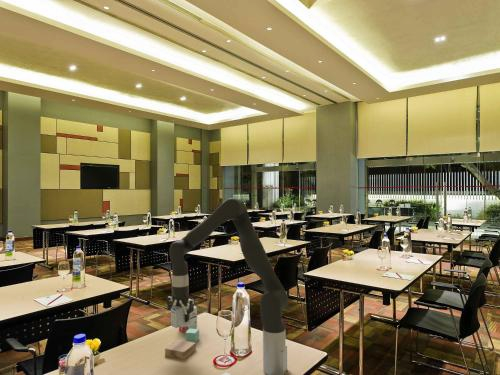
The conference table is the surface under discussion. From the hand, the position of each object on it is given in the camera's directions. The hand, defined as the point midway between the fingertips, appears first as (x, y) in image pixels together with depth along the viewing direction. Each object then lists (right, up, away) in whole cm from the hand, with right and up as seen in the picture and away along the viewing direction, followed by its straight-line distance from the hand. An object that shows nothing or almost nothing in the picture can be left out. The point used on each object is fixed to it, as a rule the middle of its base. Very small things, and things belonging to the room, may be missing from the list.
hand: (180, 320), depth 165 cm
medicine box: (0, -2, 0) cm, 2 cm away
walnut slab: (0, -15, 0) cm, 15 cm away
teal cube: (+3, -14, +12) cm, 19 cm away
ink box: (-1, -15, +26) cm, 30 cm away
